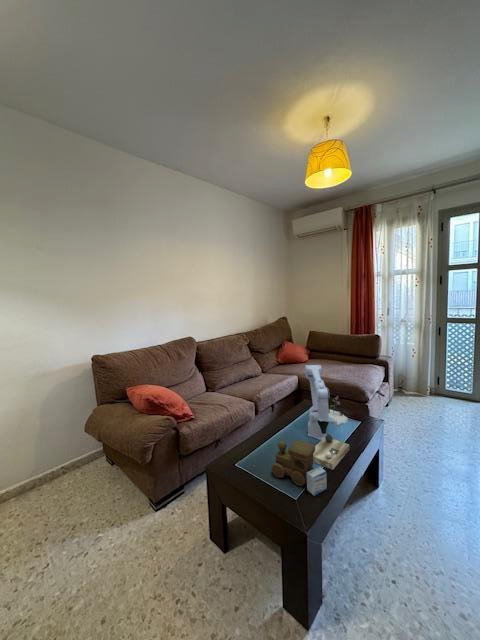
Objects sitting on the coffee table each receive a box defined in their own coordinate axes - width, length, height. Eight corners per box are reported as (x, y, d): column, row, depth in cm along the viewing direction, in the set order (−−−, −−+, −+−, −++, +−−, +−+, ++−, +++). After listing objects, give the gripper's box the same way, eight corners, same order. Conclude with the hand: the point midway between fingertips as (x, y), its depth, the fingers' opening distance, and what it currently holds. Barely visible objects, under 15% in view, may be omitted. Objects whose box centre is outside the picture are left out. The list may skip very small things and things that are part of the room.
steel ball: (330, 456, 138) (329, 450, 138) (332, 454, 140) (331, 448, 140) (336, 458, 136) (335, 452, 136) (338, 455, 138) (337, 449, 138)
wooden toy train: (317, 476, 123) (316, 443, 122) (308, 491, 114) (307, 456, 113) (280, 463, 135) (278, 432, 134) (269, 475, 126) (267, 443, 124)
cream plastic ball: (324, 457, 132) (324, 452, 132) (326, 454, 135) (326, 449, 134) (330, 459, 130) (329, 454, 130) (332, 457, 133) (332, 451, 132)
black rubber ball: (324, 442, 147) (323, 435, 146) (327, 439, 150) (326, 432, 149) (330, 444, 144) (330, 437, 144) (333, 441, 147) (333, 434, 146)
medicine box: (313, 496, 111) (313, 477, 110) (306, 490, 115) (306, 471, 114) (327, 489, 115) (326, 471, 114) (319, 483, 119) (319, 465, 118)
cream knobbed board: (307, 459, 137) (307, 453, 136) (325, 441, 153) (325, 436, 152) (332, 470, 127) (332, 464, 127) (349, 449, 143) (349, 444, 143)
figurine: (313, 416, 182) (314, 395, 180) (326, 409, 195) (327, 388, 192) (340, 429, 168) (342, 405, 166) (352, 419, 180) (354, 397, 178)
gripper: (307, 408, 145) (308, 431, 146) (332, 415, 134) (333, 440, 135) (313, 404, 150) (314, 426, 151) (338, 411, 139) (338, 434, 141)
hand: (323, 433), depth 143 cm, fingers closed
